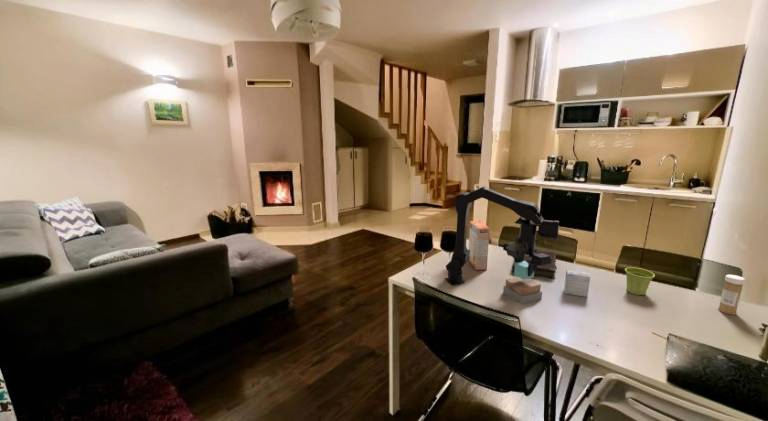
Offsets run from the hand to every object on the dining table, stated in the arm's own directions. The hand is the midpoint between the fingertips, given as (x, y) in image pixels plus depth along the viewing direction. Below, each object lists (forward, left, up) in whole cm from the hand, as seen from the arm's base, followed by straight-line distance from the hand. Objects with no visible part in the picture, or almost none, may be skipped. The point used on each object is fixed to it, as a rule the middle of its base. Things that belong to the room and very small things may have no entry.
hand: (524, 273), depth 125 cm
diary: (-20, +28, -10) cm, 36 cm away
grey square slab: (0, 0, -10) cm, 10 cm away
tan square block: (0, 0, -7) cm, 7 cm away
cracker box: (-33, +4, -10) cm, 35 cm away
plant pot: (+16, +44, -10) cm, 48 cm away
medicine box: (+7, +21, -10) cm, 24 cm away
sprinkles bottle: (+38, +57, -10) cm, 69 cm away
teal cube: (0, 0, -1) cm, 1 cm away
